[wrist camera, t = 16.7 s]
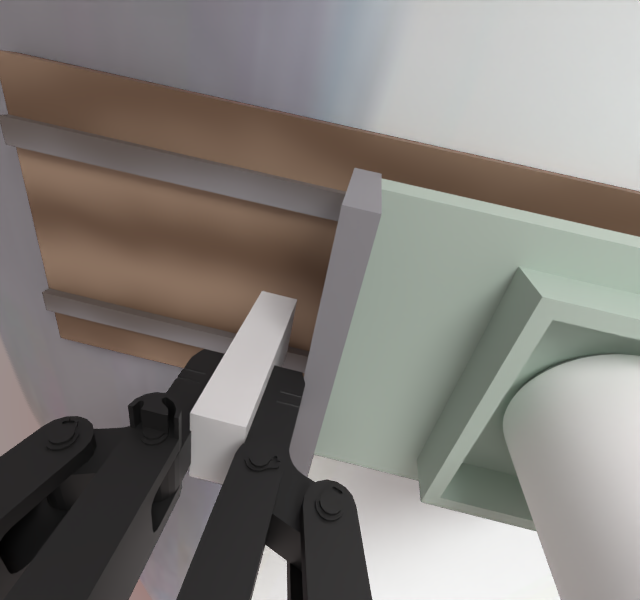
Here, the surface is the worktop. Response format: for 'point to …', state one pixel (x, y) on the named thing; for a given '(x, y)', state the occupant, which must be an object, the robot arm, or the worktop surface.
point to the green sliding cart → (452, 335)
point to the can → (582, 471)
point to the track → (217, 204)
